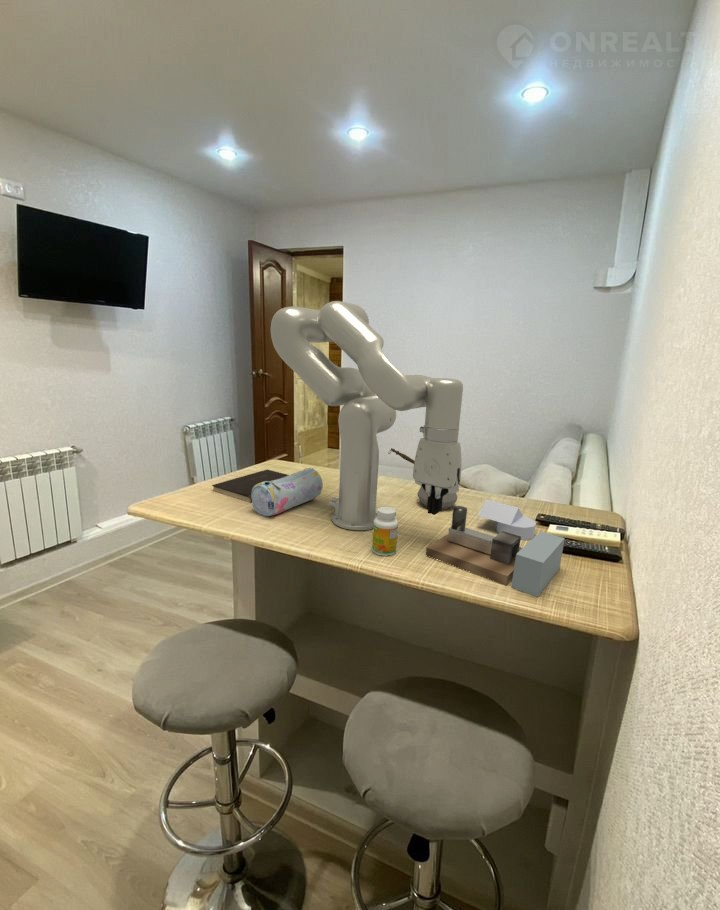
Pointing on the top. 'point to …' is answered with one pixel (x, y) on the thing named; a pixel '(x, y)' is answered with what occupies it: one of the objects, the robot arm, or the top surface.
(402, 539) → the top surface
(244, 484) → the hardcover book
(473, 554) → the door panel
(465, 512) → the bolt
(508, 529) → the wedge on round base
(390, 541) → the supplement bottle
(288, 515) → the top surface
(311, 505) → the top surface
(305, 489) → the pencil case
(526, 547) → the block
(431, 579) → the top surface
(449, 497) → the coffee pot
